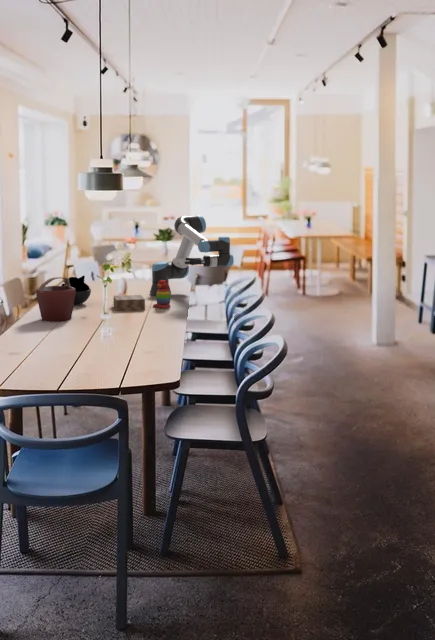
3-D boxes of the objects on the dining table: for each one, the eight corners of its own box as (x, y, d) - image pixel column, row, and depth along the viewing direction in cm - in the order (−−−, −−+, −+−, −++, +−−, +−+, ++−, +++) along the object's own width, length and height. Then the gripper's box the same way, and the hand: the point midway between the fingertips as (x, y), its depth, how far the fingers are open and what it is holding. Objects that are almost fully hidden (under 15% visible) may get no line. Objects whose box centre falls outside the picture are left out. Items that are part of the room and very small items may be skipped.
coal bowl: (63, 307, 508) (62, 278, 505) (58, 303, 527) (57, 275, 523) (94, 306, 516) (93, 277, 512) (87, 301, 534) (87, 273, 530)
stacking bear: (151, 307, 514) (151, 279, 511) (162, 305, 521) (162, 278, 518) (162, 309, 507) (162, 281, 503) (174, 307, 514) (174, 280, 511)
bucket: (64, 314, 484) (63, 274, 480) (85, 319, 469) (84, 277, 464) (29, 319, 468) (27, 277, 463) (49, 324, 452) (47, 281, 448)
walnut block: (141, 305, 519) (141, 294, 518) (145, 310, 502) (144, 299, 501) (113, 306, 515) (113, 295, 514) (116, 311, 498) (116, 300, 497)
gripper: (213, 268, 504) (181, 269, 499) (205, 264, 528) (174, 265, 523) (214, 257, 503) (181, 257, 498) (205, 253, 527) (174, 253, 522)
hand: (177, 261), depth 511 cm, fingers open, 13 cm apart
